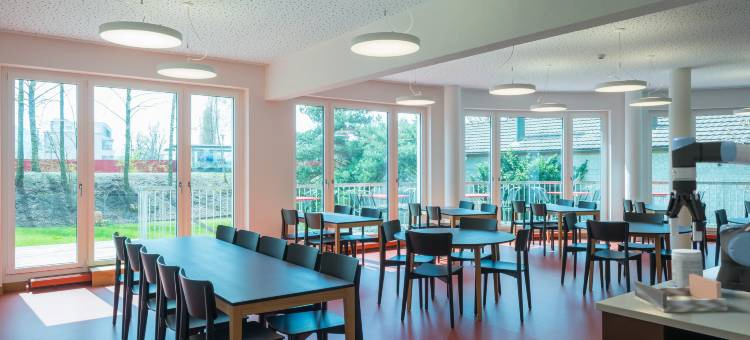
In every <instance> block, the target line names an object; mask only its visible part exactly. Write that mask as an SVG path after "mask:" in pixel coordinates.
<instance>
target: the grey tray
mask: <svg viewBox="0 0 750 340" xmlns="http://www.w3.org/2000/svg"><path fill="white" fill-rule="evenodd" d="M634 299H635V300H637V301H640V302H641V303H642V304H643V303H644V304H645V305H647V306H650V307H652V308H654V309H657V310H658V311H660V312H662V313H682V312H683V313H685V312H689V311H691V312H718V311H719V312H722V311H725V312H726V311H728V298H723V297H722V298H714V299H700V298H698V297H695V296H693V295H690V287H673V286H671V287H653V286H651V285H648V284H646V283H643V282H642V281H639V280H635V281H634ZM689 313H690V312H689Z"/></svg>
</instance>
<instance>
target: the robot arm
mask: <svg viewBox="0 0 750 340" xmlns="http://www.w3.org/2000/svg"><path fill="white" fill-rule="evenodd" d="M701 163H702V164H704V163H707V164H713V163H714V164H726V165H727V164H728V165H729V164H730V165H741V166H743V165H744V166H750V144H746V143H745V144H744V143H743V144H742V143H741V144H740V143H739V144H738V143H736V142H735V141H734V140H719V141H718V140H716V141H715V140H714V141H697V139H696V137H695V136H683V137H682V136H679V137H673V139H672V140H671V165H672V166H671V168H672V171H671V174H672V179H673V180H672V181H671V182H672V190H673V191H670V194H669V195H670V198H669V201H668V205H667V208H666V213H665V216H666V217H667V216H668V218H669V226H670V228H669V229H670V231H669V233H670V237H671V236H672V237H677V236H679V237H680V234H679V233H680V230H679V229H680V228H679V225H680V224H679V214H680V212H681V210H682V208H683V206H685V207H686V208H687V210H688V212H689V213H690V216H691V217H692V241H693V242H702V241H703V222H705V221H707V215H706V213H705V210H704V206H703V204H702V200H701V194H700V193H694V191H697V189H698V188H697V185H698V184H697V180H696V179H697V164H701ZM718 233H719V237H720V238H719V241H720V242H719V243H720V266H719V269H718V272H717V276H716V277H715V281H718V282H721V288H723V289H727V290H734V291H743V292H745V291H746V292H747V291H748V292H750V221H748V223H746V224H740V223H739V224H733V223H732V224H721V225H720V227H719V232H718Z"/></svg>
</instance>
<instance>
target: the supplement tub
mask: <svg viewBox="0 0 750 340" xmlns="http://www.w3.org/2000/svg"><path fill="white" fill-rule="evenodd" d="M703 269H704V268H703V255H702V251H701V250H700V249H692V248H676V249H675V248H674V249H671V270H672V271H671V272H672V273H671V274H672V287H690V286H689V274H696V275H699V276H702V277H704V270H703Z"/></svg>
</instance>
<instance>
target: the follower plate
mask: <svg viewBox="0 0 750 340" xmlns="http://www.w3.org/2000/svg"><path fill="white" fill-rule="evenodd" d="M689 286H690V295H693V296H695V297H698V298H700V299H714V298H723V296H722V294H723V293H722V287H721V282H718V281H716V280H715V279H711V278H708V277H705V276H703V277H702V276H699V275H696V274H689Z"/></svg>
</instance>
